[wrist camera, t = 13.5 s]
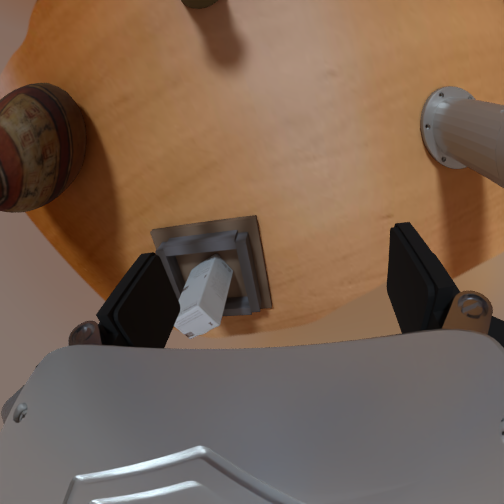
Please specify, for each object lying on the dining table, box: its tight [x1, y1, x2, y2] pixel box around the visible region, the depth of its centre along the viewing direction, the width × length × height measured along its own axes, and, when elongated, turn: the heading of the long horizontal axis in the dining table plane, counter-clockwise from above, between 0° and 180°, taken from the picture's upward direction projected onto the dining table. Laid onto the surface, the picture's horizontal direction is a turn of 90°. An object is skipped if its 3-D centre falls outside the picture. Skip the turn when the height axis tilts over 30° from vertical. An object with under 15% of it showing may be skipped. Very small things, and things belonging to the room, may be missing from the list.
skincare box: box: [174, 254, 233, 339], centre depth 41 cm, size 6×4×12 cm
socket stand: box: [150, 215, 272, 316], centre depth 46 cm, size 17×17×4 cm
